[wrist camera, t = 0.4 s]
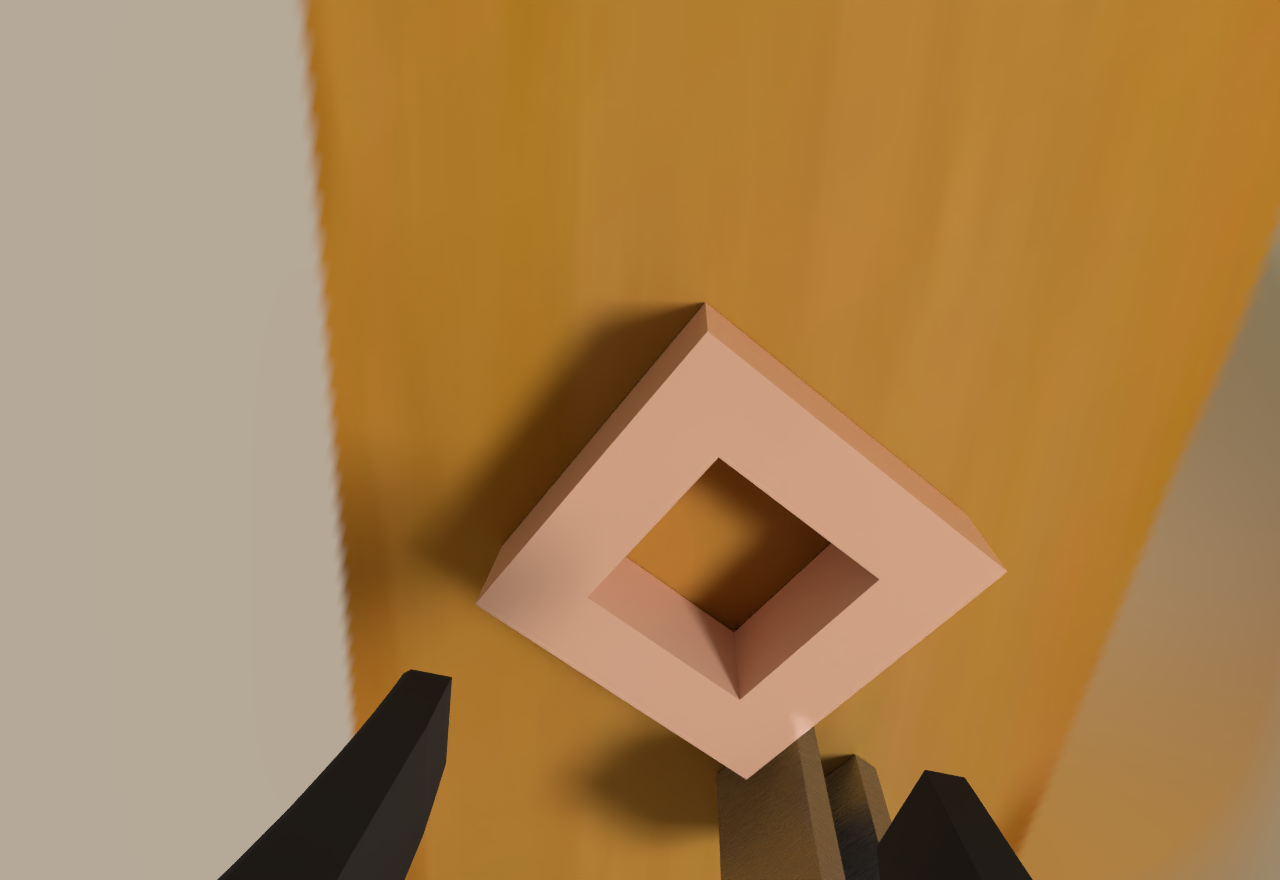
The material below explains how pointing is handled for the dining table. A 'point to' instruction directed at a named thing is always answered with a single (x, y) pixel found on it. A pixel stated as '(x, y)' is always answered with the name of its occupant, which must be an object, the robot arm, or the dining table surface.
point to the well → (796, 615)
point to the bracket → (801, 819)
